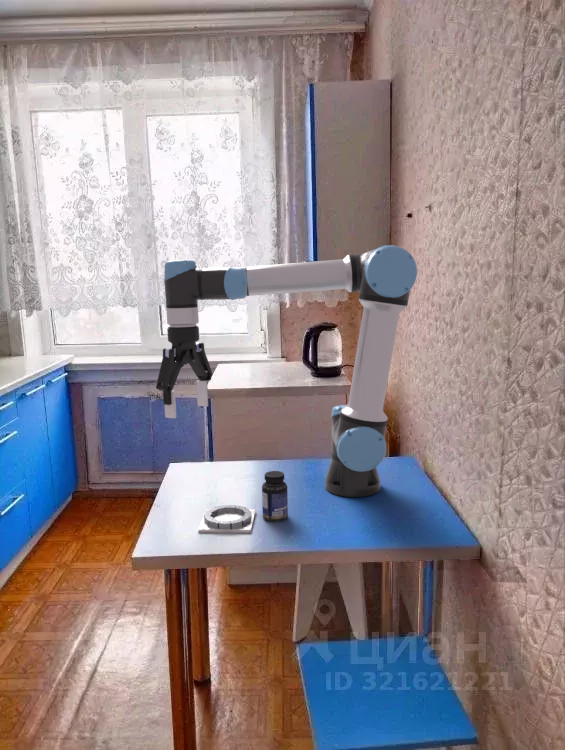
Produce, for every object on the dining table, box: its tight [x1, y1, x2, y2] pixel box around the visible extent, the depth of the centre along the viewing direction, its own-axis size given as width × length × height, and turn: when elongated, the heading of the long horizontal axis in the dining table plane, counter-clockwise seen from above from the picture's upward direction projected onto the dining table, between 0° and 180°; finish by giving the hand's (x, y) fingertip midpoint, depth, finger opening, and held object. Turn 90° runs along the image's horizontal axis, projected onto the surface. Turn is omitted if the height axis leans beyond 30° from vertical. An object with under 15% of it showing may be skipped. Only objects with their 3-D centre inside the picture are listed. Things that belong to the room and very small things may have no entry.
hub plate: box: [197, 504, 257, 534], centre depth 141 cm, size 12×12×2 cm
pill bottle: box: [261, 470, 289, 522], centre depth 143 cm, size 6×6×11 cm
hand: (187, 411), depth 146 cm, fingers open, 13 cm apart
